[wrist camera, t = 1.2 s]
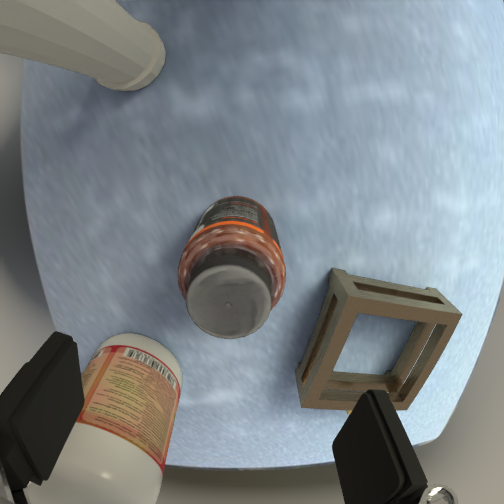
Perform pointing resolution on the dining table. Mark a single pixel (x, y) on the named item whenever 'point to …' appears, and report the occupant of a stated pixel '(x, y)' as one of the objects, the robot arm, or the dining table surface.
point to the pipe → (83, 40)
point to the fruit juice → (118, 427)
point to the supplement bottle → (232, 268)
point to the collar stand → (338, 328)
